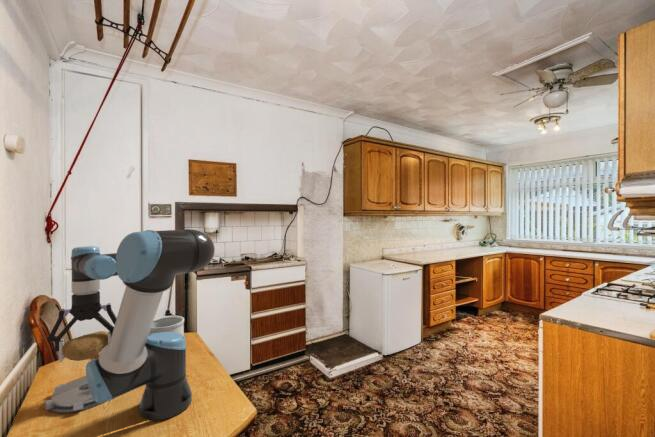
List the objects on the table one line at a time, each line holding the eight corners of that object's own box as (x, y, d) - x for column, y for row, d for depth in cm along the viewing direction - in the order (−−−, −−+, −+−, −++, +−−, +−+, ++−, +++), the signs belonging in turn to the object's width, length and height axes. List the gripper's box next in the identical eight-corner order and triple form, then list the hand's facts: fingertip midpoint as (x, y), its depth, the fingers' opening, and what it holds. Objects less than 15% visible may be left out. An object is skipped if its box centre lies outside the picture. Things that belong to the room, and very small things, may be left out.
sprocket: (56, 420, 89) (56, 397, 89) (36, 398, 100) (36, 377, 100) (134, 386, 107) (134, 367, 107) (110, 371, 118) (110, 353, 118)
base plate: (120, 400, 101) (120, 398, 101) (42, 421, 90) (42, 418, 90) (122, 375, 117) (122, 373, 117) (56, 390, 107) (56, 388, 107)
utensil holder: (157, 375, 117) (157, 330, 117) (137, 365, 125) (136, 323, 125) (191, 359, 129) (191, 319, 129) (171, 351, 137) (171, 313, 137)
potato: (118, 351, 108) (118, 329, 108) (73, 369, 95) (72, 344, 95) (100, 347, 112) (100, 325, 112) (54, 364, 99) (54, 340, 99)
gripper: (129, 285, 112) (129, 343, 113) (40, 294, 99) (40, 360, 100) (128, 289, 106) (129, 350, 106) (34, 300, 93) (34, 369, 93)
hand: (86, 355), depth 103 cm, fingers closed on potato, 12 cm apart
